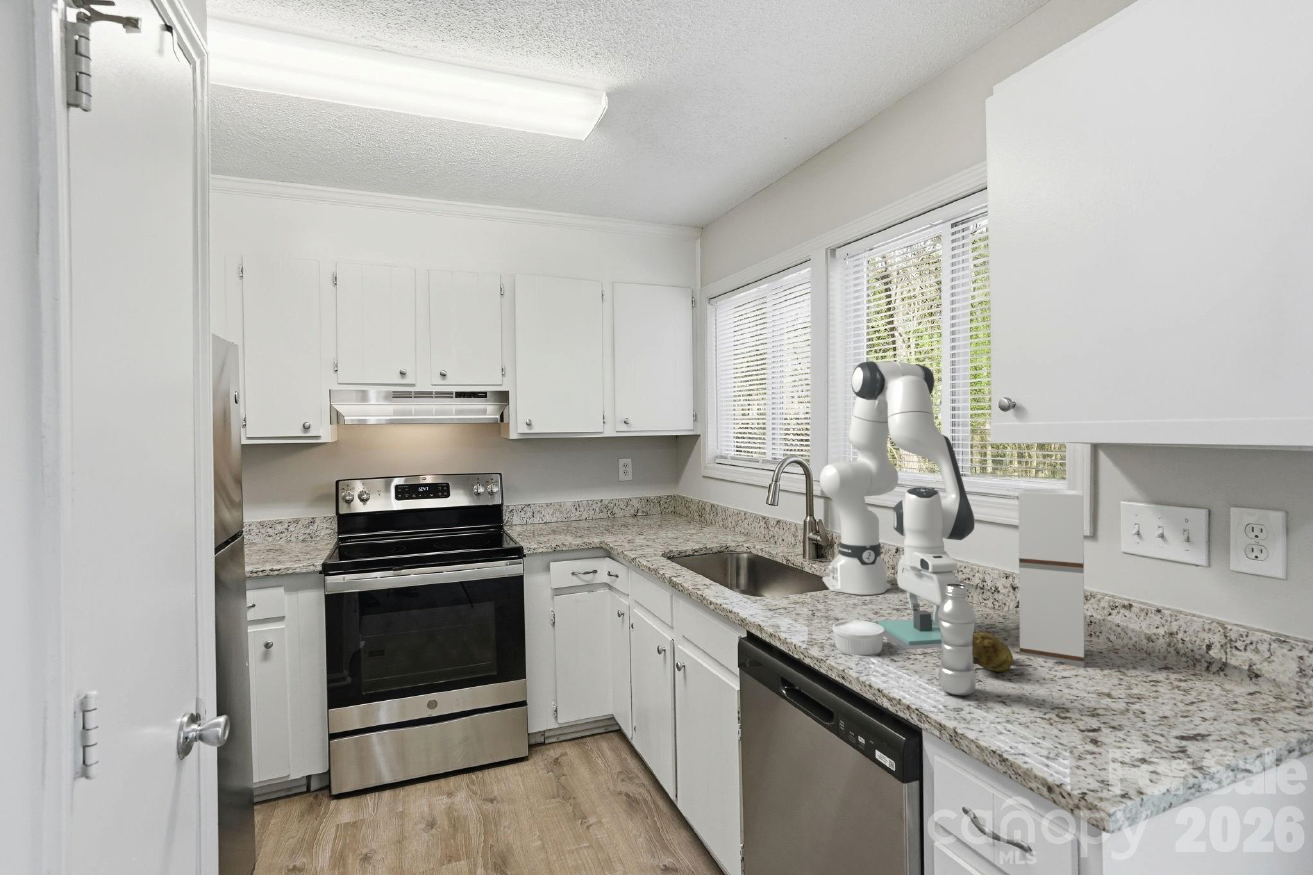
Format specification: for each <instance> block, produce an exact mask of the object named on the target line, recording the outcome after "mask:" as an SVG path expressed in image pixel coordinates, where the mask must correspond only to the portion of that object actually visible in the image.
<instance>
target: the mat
mask: <svg viewBox="0 0 1313 875" xmlns="http://www.w3.org/2000/svg"><path fill="white" fill-rule="evenodd" d="M871 622H872V623H876V624H878V622H881V621H871ZM883 638H886V639H888V640H889V641H891V642H892V643H893V644H895V645H896V646H898V648H901V649H902V650H905V651H906V650H918V649H919V650H920V649H931V648H932V649H933V648H934V649H935V648H942V643H931V644H915V645H908V644H907V643H905V642H904V641H902V640H901V639H899V638H897V637H896V636H894V635H893V634H891V633H890V632H888V631H887V630H885V634H884V637H883Z"/></svg>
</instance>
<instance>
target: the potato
mask: <svg viewBox="0 0 1313 875" xmlns="http://www.w3.org/2000/svg"><path fill="white" fill-rule="evenodd" d="M972 646H973V647H972V653H973V663H974V665H978V666H980V667H982V668H983V669H987V670H991V671H993V672H998V673H1001V672H1006V671H1008V670H1009V669H1010V668H1011V667H1012V665H1013V662H1014V657H1013V656H1014V655H1013V654H1012V651H1011V649H1010V648H1009V647H1008V646H1007V645H1006V644H1005V643H1004V642H1002V641H1001V640H1000V639H998V638H997V637H996V636H994V635H992V634H990V633H987V632H977V633H973V644H972Z"/></svg>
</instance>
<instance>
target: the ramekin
mask: <svg viewBox="0 0 1313 875" xmlns="http://www.w3.org/2000/svg"><path fill="white" fill-rule="evenodd" d="M872 622H873V621H866V620H856V619H855V620H854V619H853V620H842V621H837V622H835V623H834V624H833V625H832V632H833V636H834V641H835V646H836V648H837V650H838V651H839V652H841V653H842V654H843V655H846V656H850V657H853V655H858V656H869V655H870V656H872V655H876V654H879V653H880V652H882V650H883V643H884V638H885V637H884V634H885V629H884V628H883V627H882V626H881V625H879V624H876V623H872Z"/></svg>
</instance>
